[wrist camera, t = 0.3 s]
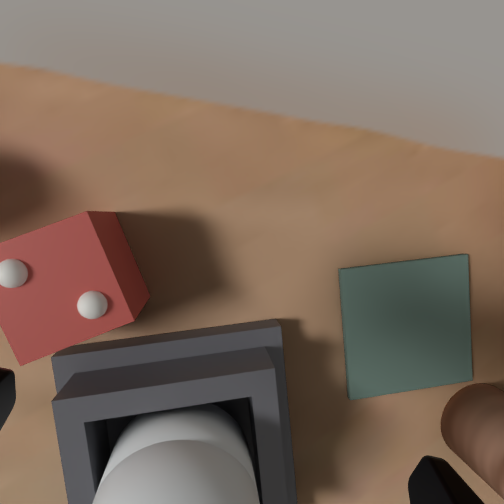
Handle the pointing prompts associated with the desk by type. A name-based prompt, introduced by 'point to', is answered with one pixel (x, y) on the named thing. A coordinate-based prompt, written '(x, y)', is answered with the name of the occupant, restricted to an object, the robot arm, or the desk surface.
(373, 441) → the desk surface
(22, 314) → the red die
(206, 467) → the dome
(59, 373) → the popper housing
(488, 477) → the terracotta pawn
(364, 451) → the desk surface
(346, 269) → the tile
